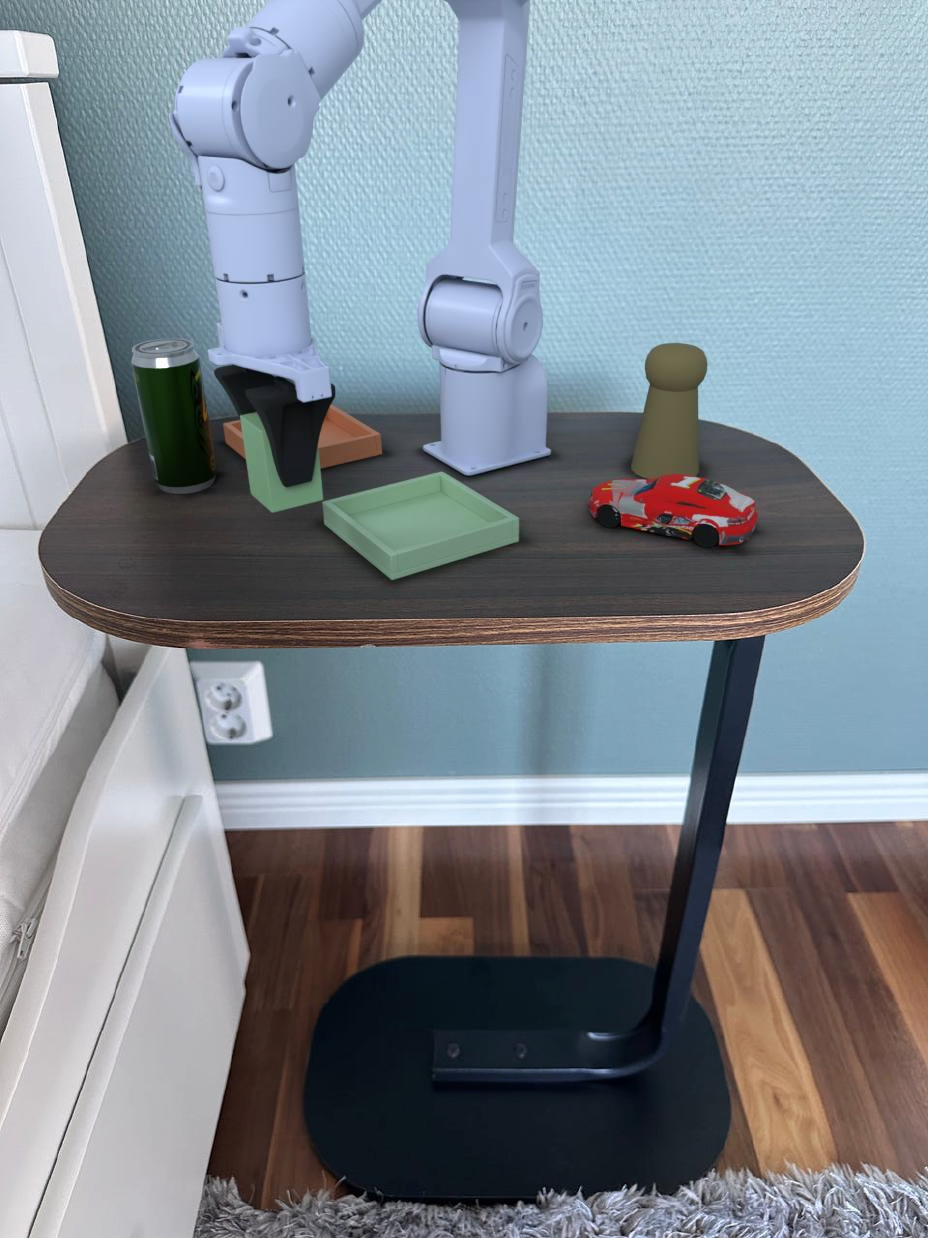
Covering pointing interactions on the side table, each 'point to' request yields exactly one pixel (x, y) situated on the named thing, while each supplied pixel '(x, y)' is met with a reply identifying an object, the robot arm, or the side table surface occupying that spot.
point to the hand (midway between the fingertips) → (283, 472)
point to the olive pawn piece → (670, 412)
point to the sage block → (273, 471)
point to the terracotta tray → (327, 439)
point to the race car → (677, 508)
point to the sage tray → (419, 524)
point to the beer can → (174, 414)
